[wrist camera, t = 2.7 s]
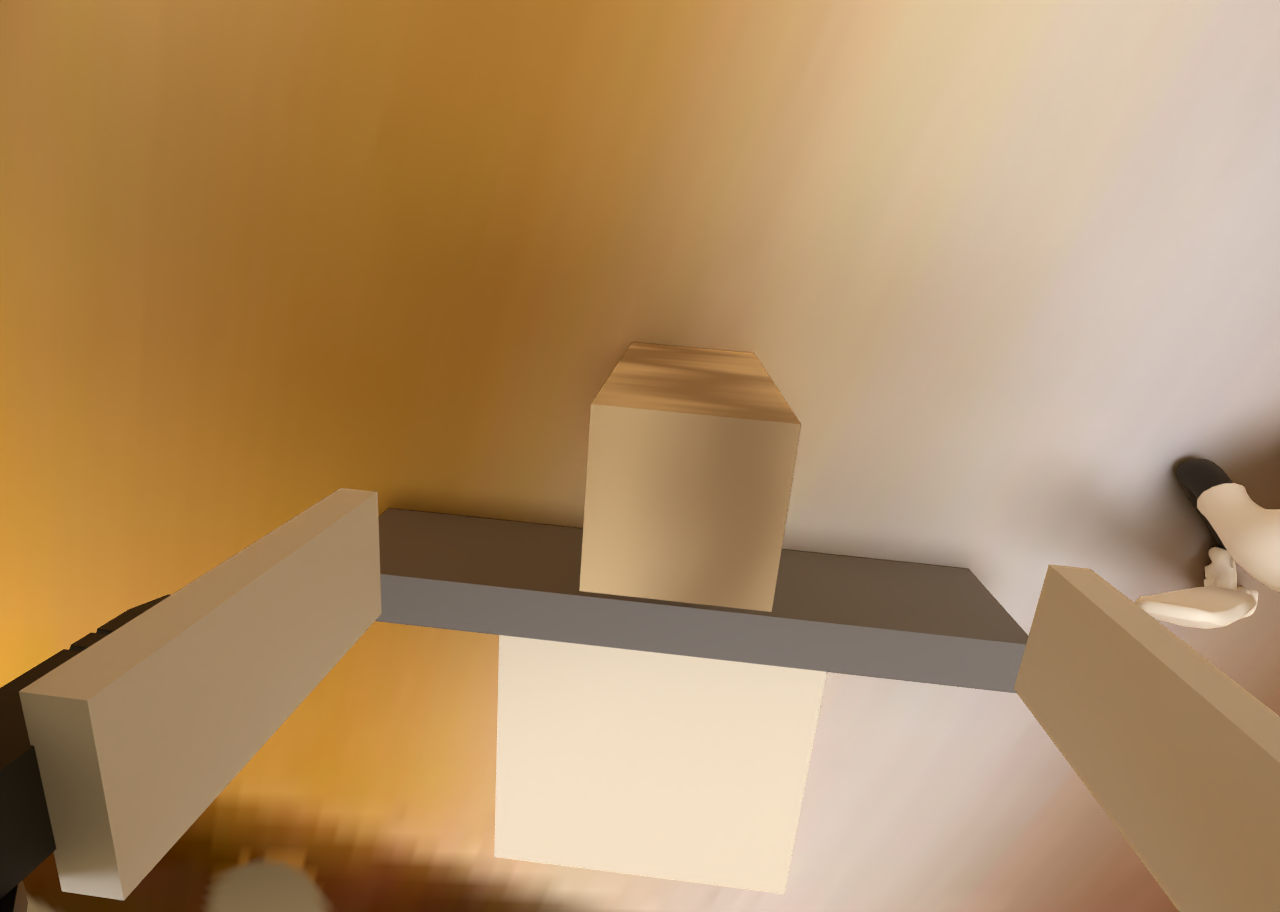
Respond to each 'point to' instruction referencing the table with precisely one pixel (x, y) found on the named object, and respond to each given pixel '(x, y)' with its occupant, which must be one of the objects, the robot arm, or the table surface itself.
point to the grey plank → (700, 605)
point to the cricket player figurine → (1222, 552)
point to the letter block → (688, 478)
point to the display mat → (652, 762)
